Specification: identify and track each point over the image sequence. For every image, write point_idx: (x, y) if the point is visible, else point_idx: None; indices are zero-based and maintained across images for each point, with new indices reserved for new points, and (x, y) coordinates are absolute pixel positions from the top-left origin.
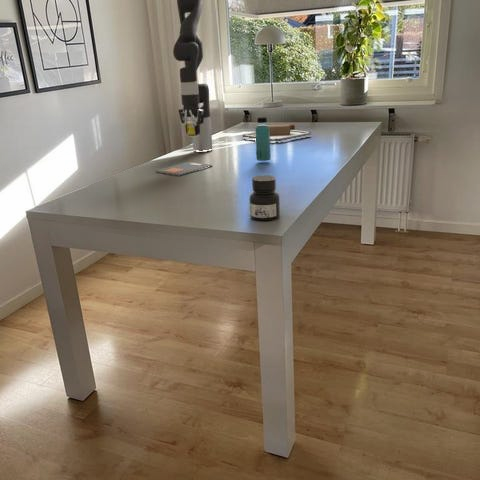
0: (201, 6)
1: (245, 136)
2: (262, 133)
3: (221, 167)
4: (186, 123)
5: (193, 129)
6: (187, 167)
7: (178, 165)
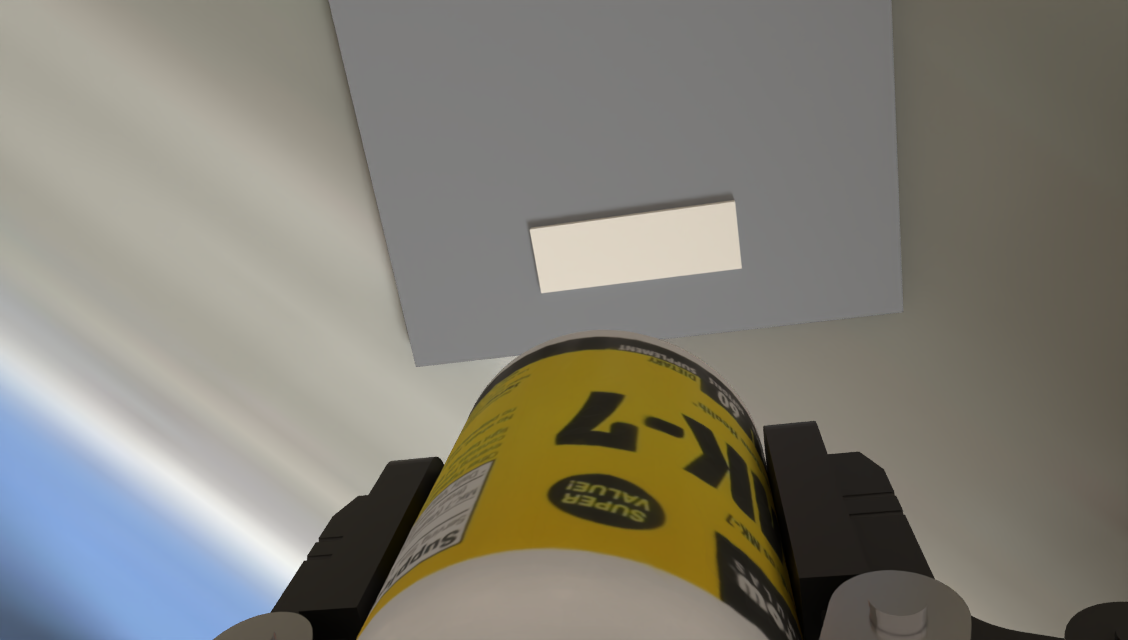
0: None
1: None
2: None
3: (301, 394)
4: (826, 627)
5: (427, 500)
6: (567, 39)
7: (825, 36)
